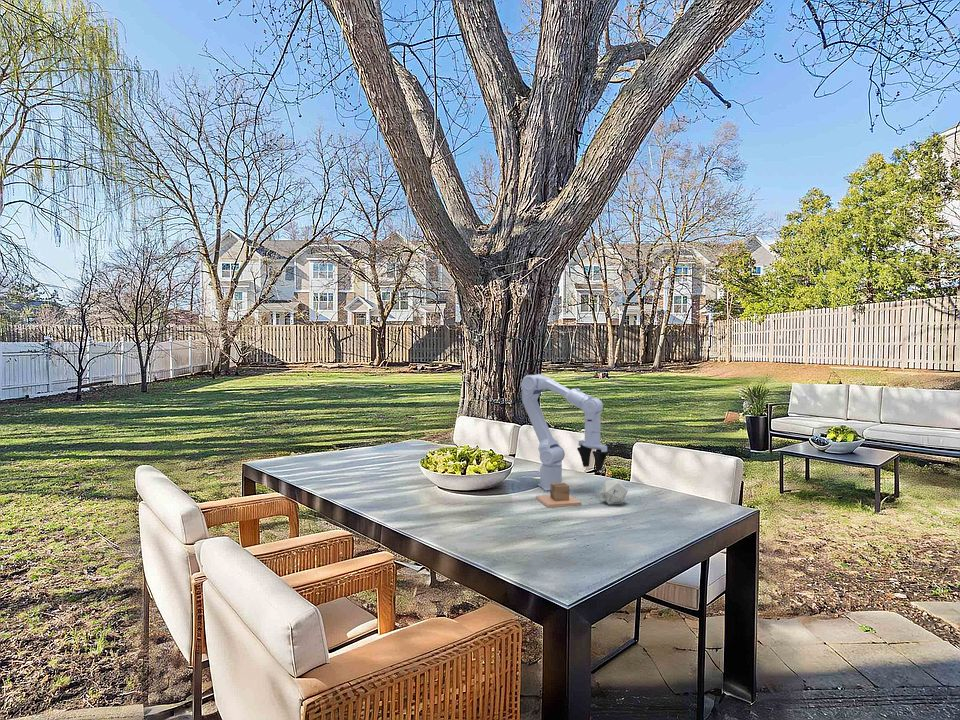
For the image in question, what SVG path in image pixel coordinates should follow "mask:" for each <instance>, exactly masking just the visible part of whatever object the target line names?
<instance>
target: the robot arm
mask: <svg viewBox="0 0 960 720" xmlns="http://www.w3.org/2000/svg"><path fill="white" fill-rule="evenodd" d="M520 387H521V400H522V403H523V407H524V409H525V411H526V413H527V416H528V418H529V420H530V423H531V426H532V427H533V430H534V432H535V435H536V437H537V440H538V442H539V444H538V449H537V450H538V452H539V460H540V462H541V463H542V464H541V466H540V469H539V470H540V471H539V483H537V485H538V487H540V488H542V489H543V490H544V491H550V483H563V481H562V479H563V475H562V473H563V466H562V465H563V464H562V461H563V460H564V459H565V456H566V455H565V450H564V449H563V447H562V445H561V446H560V443H559V442H558V440H557V439H555V438H554V437H553V434H552V432H551V429H550V427H549V425H548V423H547V421H546V417H545V416H544V414H543V411H542V409H541V406H540V404H539V401H538V399H539V396H540V395H541V394H542V393H543V391H544V390H549V391H551V392H553V393H556V394H558V395H559V396H562V397H564V398H565V399H566V402H567V403H569V404H571V405H573V406H574V407H576V408H578V409H580V410H582V412H583V413H584V439H583V440H578V446H579V447H577V451H578V454H579V456H580V459H581V462H582V466H583V468H585V467H589V466H590V459H591V454H592V455H593V459H594V466H595V471H598V472H599V471H600V472H601V471H602V470H603V466H604V464H605V463H604V462H605V460H606V458H607V457H608V455H609V451H608V446H607V445H604V444H603V443H601V440H602V439H601V431H602V429H601V427H602V426H601V422H602V421H601V415H602V414H601V412H602V411H603V408H604V404H603V402H602V400H601V399H600V398H598V397H592V395H590V394H586V393H584V392H582V391H581V389H580V388H572V389H570V388H568V387H566V386H564V385H563V384H561V383H559V382H557V381H556V380H554V379H552V378H551V377H549V376H547V375H544V374H542V373H537V374H526V375H525V376H523V378H522V380H521V383H520ZM592 450H593V451H592Z"/></svg>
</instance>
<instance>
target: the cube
mask: <svg viewBox="0 0 960 720" xmlns="http://www.w3.org/2000/svg"><path fill="white" fill-rule="evenodd" d="M549 491H550V494H549V495H550V498H552V499H553V500H554V501H567V500H569V495H570V485H569V484H567V483H565V482H562V483H550V490H549Z"/></svg>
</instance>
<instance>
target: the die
mask: <svg viewBox="0 0 960 720" xmlns="http://www.w3.org/2000/svg"><path fill="white" fill-rule="evenodd" d="M627 494H628V489H627V488H626V486H624V484H623V483H622V482H621V481H620V480H619V479H613V480H612V479H609V480H604V482H603V485H602V488H601V490H600V492H599V495H600V496H601V497H602V498H603V500H604V502H606V503H607V504H608V505H610V506H611V505H623V503H624V501H625V498H626V495H627Z"/></svg>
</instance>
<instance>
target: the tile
mask: <svg viewBox="0 0 960 720" xmlns="http://www.w3.org/2000/svg"><path fill="white" fill-rule="evenodd" d="M535 499H536V500H538V502H540V503H541V504H543V505H544V506H545V507H546V508H548V509H549V508H563V507H577V506H582V502H581V501H580V500H578V499H577V498H576V497H574V496H572V495H570V494H569V500H567V501H554V500H553V499H552V498H550V494H543V495H542V494H541V495H535Z"/></svg>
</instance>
